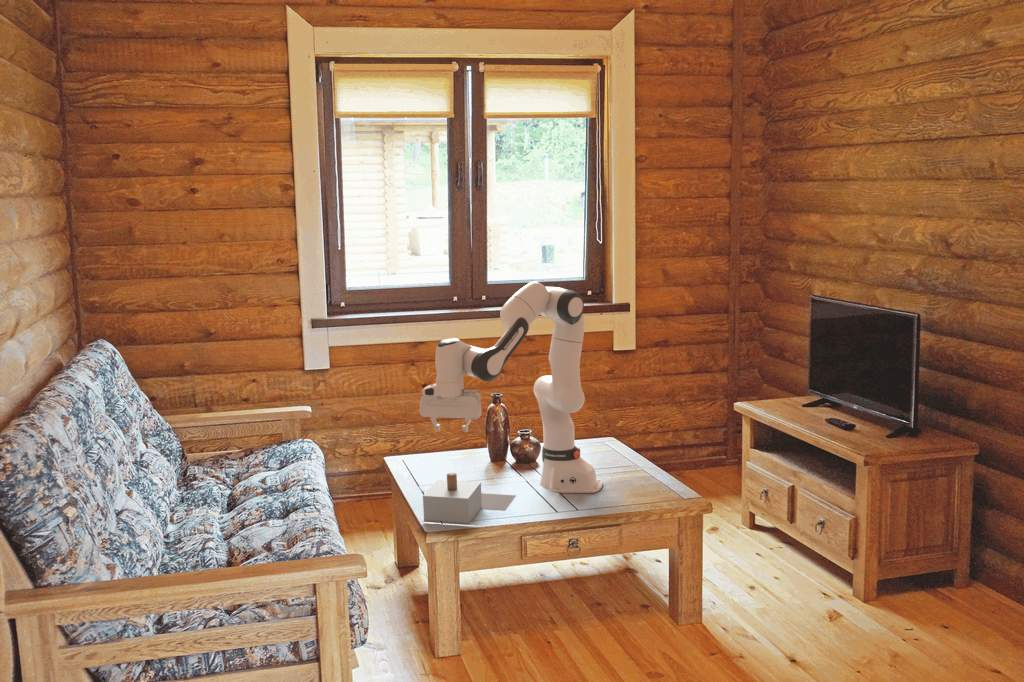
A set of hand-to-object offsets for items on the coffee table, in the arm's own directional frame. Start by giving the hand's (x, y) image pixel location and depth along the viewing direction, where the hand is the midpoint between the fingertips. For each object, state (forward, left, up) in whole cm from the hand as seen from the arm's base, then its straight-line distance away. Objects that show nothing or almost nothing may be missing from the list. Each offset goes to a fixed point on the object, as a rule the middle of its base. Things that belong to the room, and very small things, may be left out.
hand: (451, 430), depth 333 cm
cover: (0, 0, -28) cm, 28 cm away
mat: (-7, -14, -29) cm, 33 cm away
